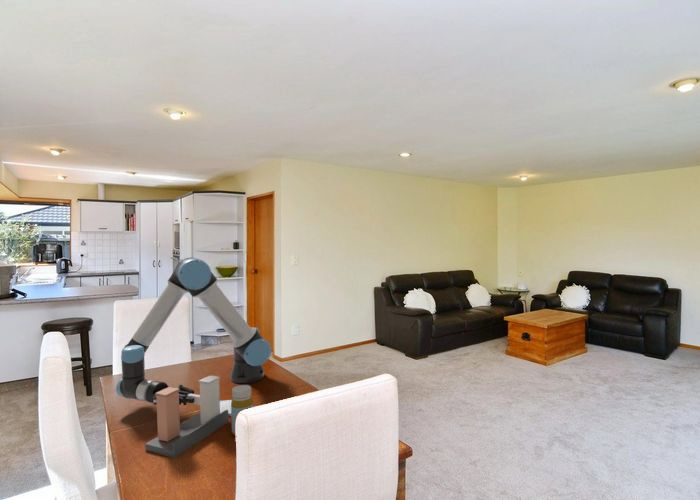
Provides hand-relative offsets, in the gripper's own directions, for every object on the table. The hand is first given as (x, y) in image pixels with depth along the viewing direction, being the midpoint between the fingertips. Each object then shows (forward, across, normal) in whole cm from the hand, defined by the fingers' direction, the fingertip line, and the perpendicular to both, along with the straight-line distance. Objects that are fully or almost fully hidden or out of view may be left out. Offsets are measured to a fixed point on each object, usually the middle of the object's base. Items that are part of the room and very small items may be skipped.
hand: (203, 400), depth 136 cm
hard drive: (-3, -13, -10) cm, 16 cm away
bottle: (+15, -1, -9) cm, 18 cm away
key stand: (0, +6, -9) cm, 11 cm away
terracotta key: (-2, +13, -7) cm, 15 cm away
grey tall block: (+3, 0, -7) cm, 7 cm away
